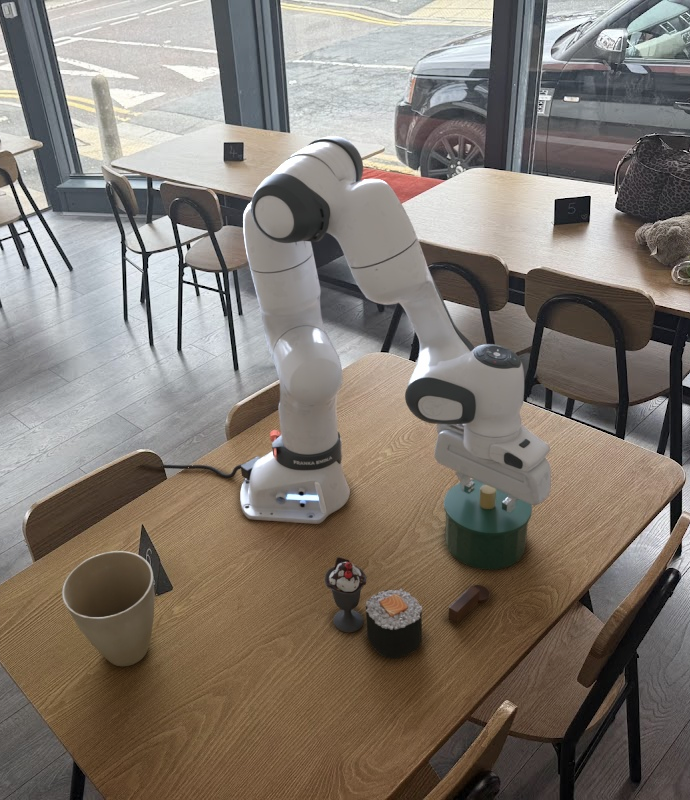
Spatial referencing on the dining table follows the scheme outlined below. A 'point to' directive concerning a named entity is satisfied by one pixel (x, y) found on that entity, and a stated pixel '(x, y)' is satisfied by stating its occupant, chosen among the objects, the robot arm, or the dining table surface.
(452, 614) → the brown bar with disc
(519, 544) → the tin
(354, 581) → the sundae
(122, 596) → the plant pot
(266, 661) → the dining table surface
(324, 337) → the robot arm
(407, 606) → the sushi
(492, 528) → the lid
